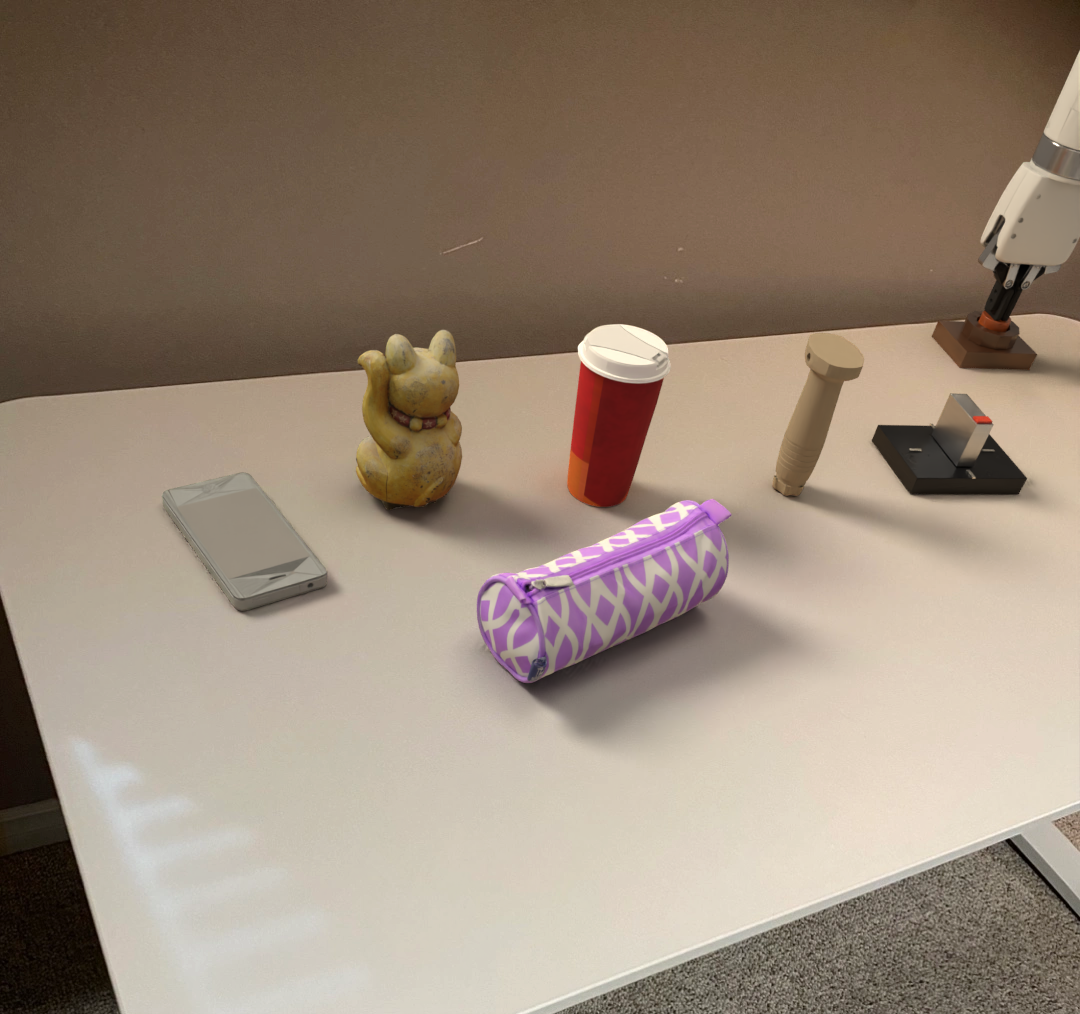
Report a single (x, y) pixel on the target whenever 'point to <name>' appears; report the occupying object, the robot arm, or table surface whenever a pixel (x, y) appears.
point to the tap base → (944, 464)
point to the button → (993, 323)
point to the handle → (815, 408)
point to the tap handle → (962, 429)
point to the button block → (983, 345)
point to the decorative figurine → (410, 422)
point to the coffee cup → (613, 410)
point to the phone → (244, 540)
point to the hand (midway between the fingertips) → (995, 315)
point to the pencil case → (604, 591)
